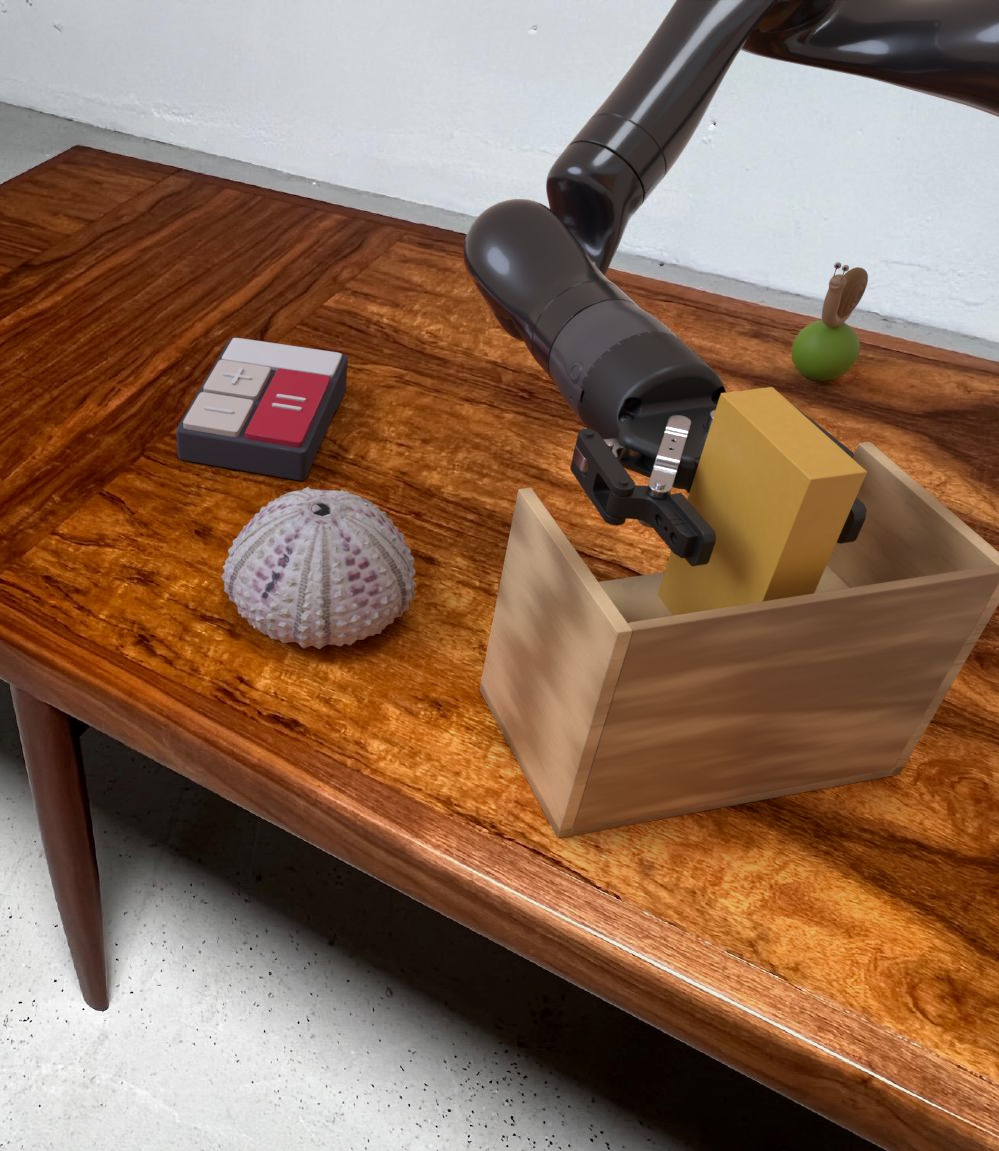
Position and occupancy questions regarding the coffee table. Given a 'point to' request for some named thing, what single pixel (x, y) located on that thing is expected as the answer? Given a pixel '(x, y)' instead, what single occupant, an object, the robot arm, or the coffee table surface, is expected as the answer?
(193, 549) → the coffee table surface
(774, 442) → the mustard yellow pillar block
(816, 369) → the snail figurine
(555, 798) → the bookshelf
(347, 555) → the sea urchin shell
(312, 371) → the calculator
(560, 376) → the robot arm
